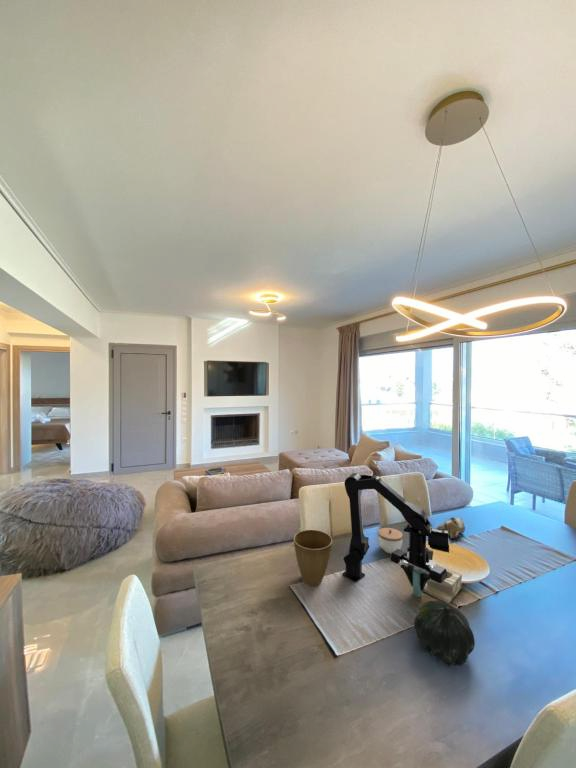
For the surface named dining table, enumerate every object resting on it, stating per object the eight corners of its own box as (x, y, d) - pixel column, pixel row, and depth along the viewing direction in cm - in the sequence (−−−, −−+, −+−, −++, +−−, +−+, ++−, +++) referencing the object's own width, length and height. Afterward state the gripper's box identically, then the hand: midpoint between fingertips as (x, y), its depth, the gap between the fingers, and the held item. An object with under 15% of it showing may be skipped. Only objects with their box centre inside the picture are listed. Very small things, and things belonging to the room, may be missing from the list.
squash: (426, 601, 101) (418, 582, 93) (479, 625, 91) (476, 607, 83) (414, 651, 93) (404, 635, 85) (472, 684, 83) (466, 669, 75)
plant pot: (286, 585, 117) (286, 542, 117) (303, 564, 130) (303, 526, 130) (323, 597, 110) (323, 552, 110) (337, 574, 123) (337, 534, 123)
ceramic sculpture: (471, 518, 155) (452, 526, 149) (472, 535, 156) (452, 544, 149) (451, 510, 165) (432, 517, 158) (452, 526, 165) (433, 534, 158)
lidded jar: (406, 556, 136) (406, 535, 136) (381, 556, 137) (381, 535, 137) (398, 544, 147) (398, 524, 147) (375, 543, 147) (375, 524, 147)
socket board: (448, 603, 107) (448, 589, 107) (417, 588, 115) (417, 574, 115) (461, 587, 116) (461, 574, 116) (431, 574, 124) (431, 561, 124)
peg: (419, 598, 110) (419, 575, 110) (411, 593, 112) (411, 571, 112) (423, 594, 112) (423, 571, 112) (415, 589, 114) (415, 568, 114)
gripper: (453, 547, 111) (453, 591, 111) (403, 529, 124) (403, 568, 124) (440, 559, 103) (440, 606, 103) (389, 538, 117) (389, 579, 117)
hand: (417, 588), depth 112 cm, fingers closed on peg, 3 cm apart
